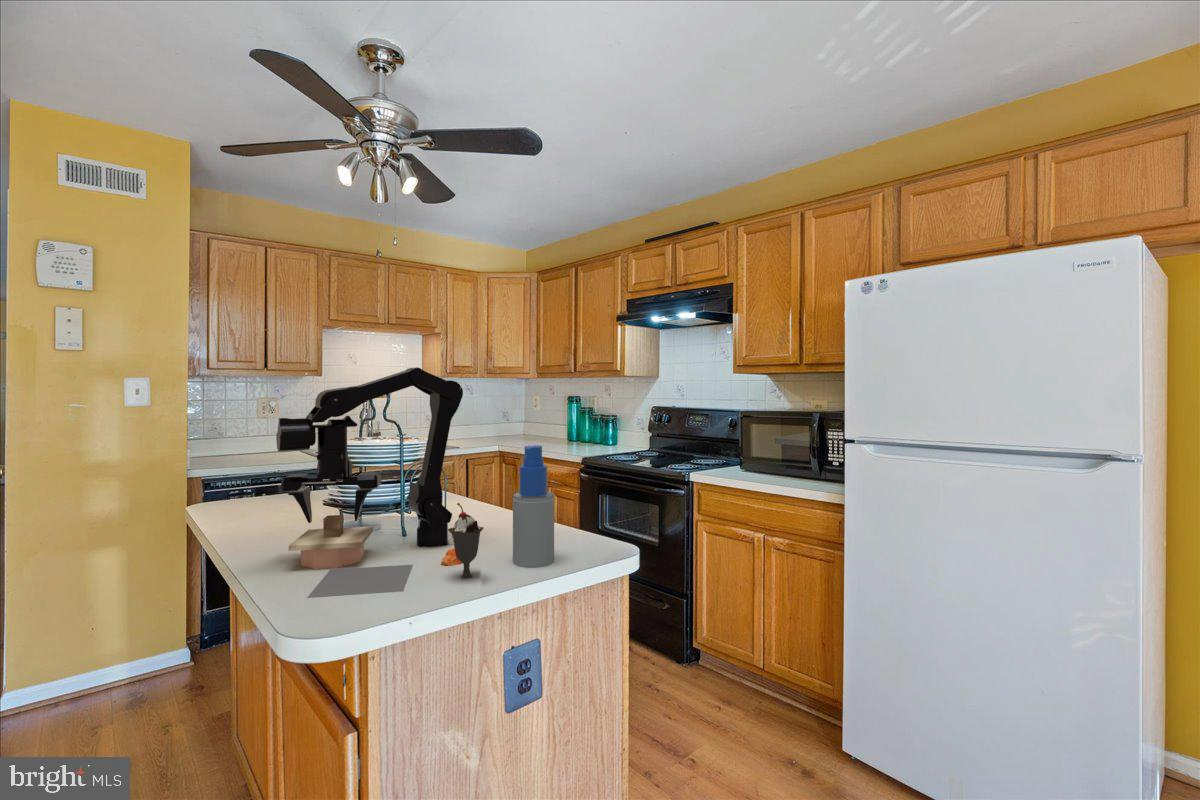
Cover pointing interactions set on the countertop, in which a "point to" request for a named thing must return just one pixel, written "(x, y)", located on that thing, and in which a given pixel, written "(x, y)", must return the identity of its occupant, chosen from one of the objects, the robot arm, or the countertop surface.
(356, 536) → the lid
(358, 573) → the mat
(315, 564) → the bowl
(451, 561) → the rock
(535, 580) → the countertop surface
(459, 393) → the robot arm
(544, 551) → the spray bottle
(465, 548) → the sundae
